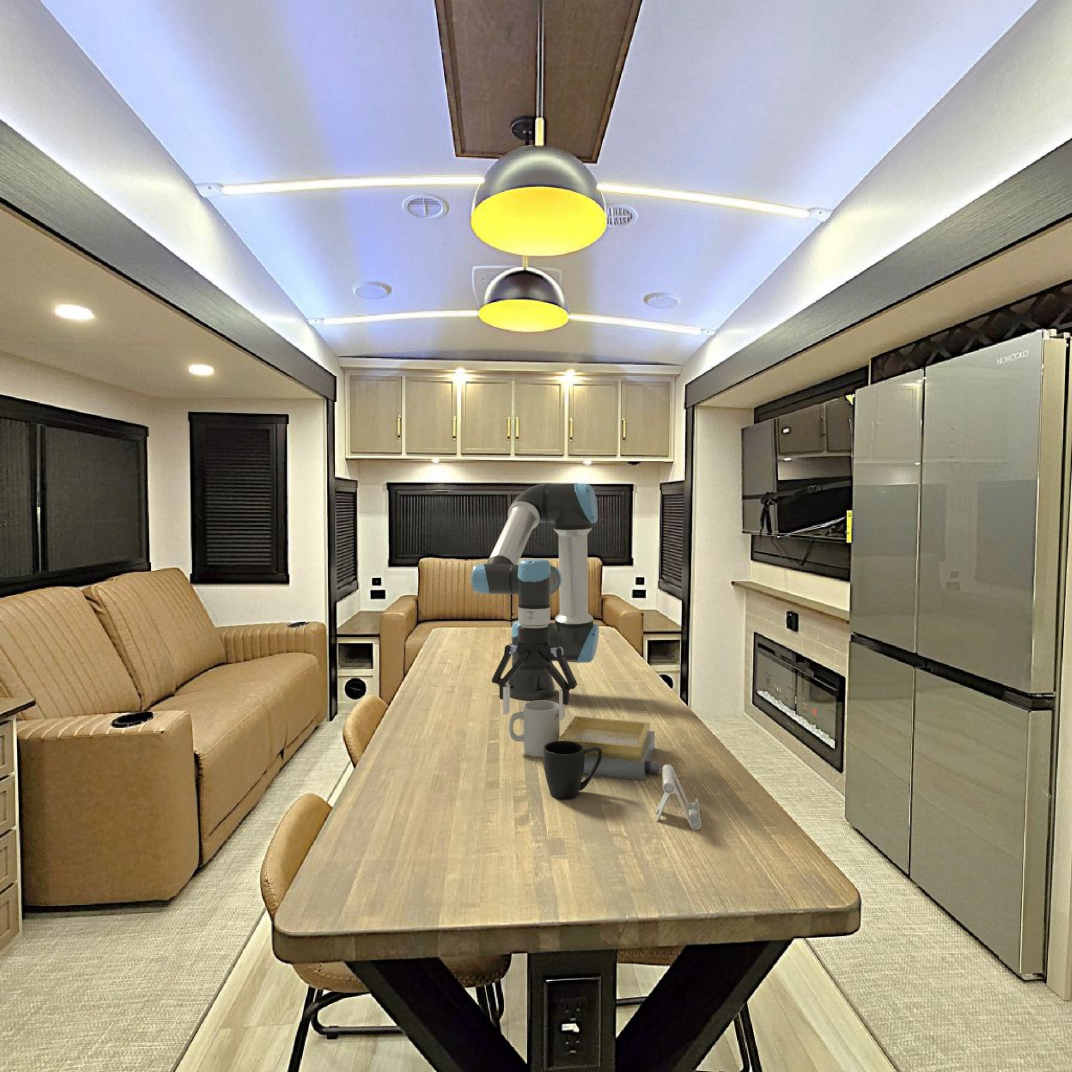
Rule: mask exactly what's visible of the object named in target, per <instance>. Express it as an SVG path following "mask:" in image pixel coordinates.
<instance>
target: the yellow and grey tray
mask: <svg viewBox="0 0 1072 1072" xmlns="http://www.w3.org/2000/svg"><path fill="white" fill-rule="evenodd" d="M650 727H651V724H650V722H648V721H647V722H645V721H637V720H634V721H633V720H623V719H611V718H603V717H602V718H600V717H590V716H577V715H575V716H574V717H573V718H572V720H571V722H569V724H568V725H567V727H566V729H565V730H564V731H563V733H562V734H561V735H559V736H560V738H559V739H558V741H573V742H577V743H580V744H582V745H583V746H584V748H585V749H586V748H590V747H599V748H601V750H602V759H601V762H600V764H599V766H598V768H597V769H596V771H595V773H594V775H593V776H598V777H606V778H614V779H615V778H617V779H623V780H625V779H626V780H634V781H642V782H645V780H646V777H647V774H656V775H659V774H660V772H661V771H660V770H661V764H660V763H661V762H659V761H653V760H652V757H653V754H654V751H655V748H656V747H655V742H656V741H655V740H656V739H655V738H656V735H655V731H654V730H653V731H652V730H650V729H651V728H650ZM597 756H598V751H590V752H588V753H585V761H584V771H583V775H586V776H588V775H589V773H590V772H591V770H592V768H593V766H594V764H595V762H596V760H597ZM651 760H652V761H651Z"/></svg>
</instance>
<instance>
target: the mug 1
mask: <svg viewBox="0 0 1072 1072" xmlns="http://www.w3.org/2000/svg"><path fill="white" fill-rule="evenodd" d="M516 720H522V721H523V732H522V733H520V734H516V733H515V732H514V722H515V721H516ZM508 732H509V736H510V738H511V740H513V741H515V742H523V753H525V755H527V756H530V757H532V758H543V748H544V746H545V745H546V744H547V743H550V742H554V741H558V739H559V738H560V736H561V735H560V720H559V702H555V701H552V700H543V699H536V700H529V701H528V702H526V703H524V704H523V711H519V712H514V713H513V714H512V715H511V716H510V718H509V721H508Z"/></svg>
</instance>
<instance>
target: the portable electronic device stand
mask: <svg viewBox="0 0 1072 1072" xmlns="http://www.w3.org/2000/svg"><path fill="white" fill-rule="evenodd" d="M675 770H676V769H674V767H673V766H672V764H664V765H663V766H662V790H663V792H664V793H663V795H662V797H661V800H660V802H659V803H658V806H657V808H656V811H655V814H657V816H656V818H655V821H656V822H659V820H660V818H661V816H662V814H663V811H664V809H665V807H666V805H667V803H668V801H669V799H670V796H671V795H672V794H675V795H676V797H677V799H678V800H679V804H680V805H681V808H682V811H683V813H684V815H685V817H686V819H687V821H688V824H689V825H690V828H691V829H692V830H694V831H698V830H700V829H701V828H702V820H701V813H700V807H699V800H698V797H696V798H695V800H694V802H691V803H690V801H689V800H688V798H687V796H686V794H685V791H684V789H683V787H682V785H681V783H680V780H679V778H678V776H677V773H676V771H675ZM675 782H676V783H675ZM677 786H678V788H677ZM678 789H679V790H678ZM679 791H680V792H679ZM680 793H681V794H680ZM681 795H682V797H681ZM682 798H683V799H684V802H685V804H686V806H685V804H684V802H683V799H682ZM686 807H687V808H686ZM687 809H688V811H687Z"/></svg>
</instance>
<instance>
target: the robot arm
mask: <svg viewBox="0 0 1072 1072" xmlns="http://www.w3.org/2000/svg"><path fill="white" fill-rule="evenodd" d="M597 502H598V501H597V497H596V493H595V491H594V488H593V486H591V485H590V484H588V483H577V482H575V483H572V482H571V483H540V484H536V485H534V486H530V487H529V488H527V489H526V490H524V491H522V493H520V494H519V495H518V496H517V497H516V498H515V499H514V500H513V501H512V503H511V504H510V507H509V508H508V510H507V521H506V522H505V525H504V527H503V529H502V531H501V533H500V535H499V537H498V539H497V541H496V543H495V546H494V548H493V550H492V552H491V553H490V556H489V558H488V560H487V562H486V563H477V564H475V565H474V566H473V568H472V571H471V575H470V581H471V582H470V583H471V586H472V589H473V591H474V592H476V593H477V594H487V595H515V596H517V599H518V600H517V603H518V605H517V608H518V609H517V613H518V615H517V616H518V617H517V621H514V623H513V624H512V626H511V637H510V639H511V643H508V644H506V645H505V646H504V651H503V652H504V653H503V656H502V658H501V660H500V661H499V664H498V666H497V668H496V670H495V672H494V674H493V675H492V679H491V683H493V684H496V685H497V686H498V687H499V688H498V689H499V695H498V697H499V700H502V715H504V716H505V715H506V716H507V714H509V713H510V712H511V698H513V699H517V700H526V701H527V700H528V701H536V700H543V699H549V698H551V697H554V695H555V694H556V686H555V682H556V683H557V685H558V686H559V687H560V688H561V689H560V690H559V691H558V693H559V694H558V704H559V721H561V720H563V719H564V718H565V717H566V705H568V704H569V703H570V691H571V690H575V688H576V687H577V686H578V682H577V680H576V677H575V675H574V674H573V671H572V669H571V667H570V665H569V663H575V664H579V663H580V664H581V663H583V664H584V663H586V664H588V663H590V662H592V661H593V660H594V658H595V656H596V653H597V649H598V648H597V647H598V643H599V633H600V630H599V629H600V627H599V625H598V624H596V623H594V617H593V616H592V615H591V614H590V613H589V584H588V583H589V579H588V577H589V573H588V571H589V570H588V568H589V566H588V565H589V564H588V563H589V562H588V534H589V533H590V532H591V531H592V529H593V524H595V523H597V522H598V517H599V516H598V513H599V512H598V503H597ZM542 523H547V524H550V523H551V524H552V528H553V530H554V532H555V533H557V536H558V567H557V566H555V565H553V564H551V563H550V561H549V560H548V559H546V558H545V559H544V558H543V559H542V558H531V559H530V558H527V559H521V560H520V558H521V557H522V554H523V552H524V550H525V548H526V545H527V543H528V540H529V538H530V536H531V533H532V531H533V530H534V529H535V528H536V527H538V525H539V524H542ZM558 589H559V590H558ZM557 590H558V591H559V592H558V593H559V613H558V614H557V615H556V616H555V618H554V622H551V595H553V594H555V593H556V592H557ZM510 659H511V668H510V669H509V670H508V671H507V673H506V674H504V676H503V677H502V675H503V673H504V671H505V669H506V667H507V666H508V664H509V661H510ZM554 662H557V663H558V664H559V666H560V669H561V672H563V674H562V673H561V672H560V671H559V670H558V668H557V667H556V665H555V664H554ZM554 681H555V682H554Z"/></svg>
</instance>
